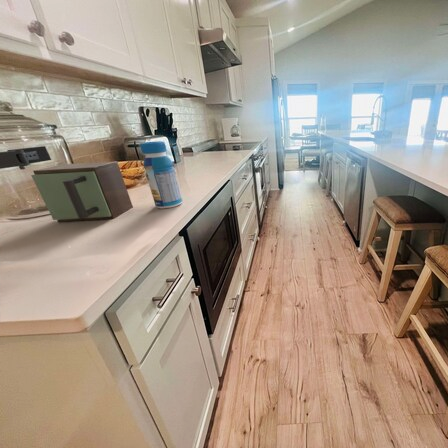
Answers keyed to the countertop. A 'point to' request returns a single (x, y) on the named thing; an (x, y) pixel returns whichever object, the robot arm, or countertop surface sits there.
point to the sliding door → (72, 195)
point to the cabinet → (108, 182)
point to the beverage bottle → (160, 175)
